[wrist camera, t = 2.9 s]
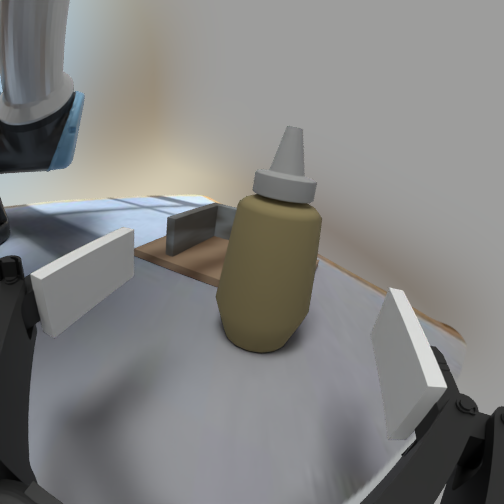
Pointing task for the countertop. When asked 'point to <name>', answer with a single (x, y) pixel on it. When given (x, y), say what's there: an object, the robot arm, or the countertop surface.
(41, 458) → the countertop surface
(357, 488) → the countertop surface
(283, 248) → the squeeze bottle
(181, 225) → the u rest
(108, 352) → the countertop surface
